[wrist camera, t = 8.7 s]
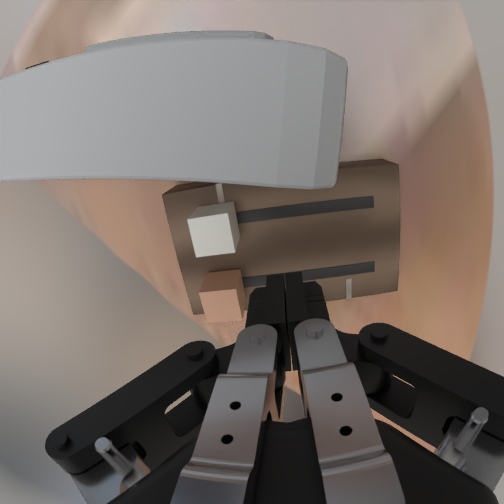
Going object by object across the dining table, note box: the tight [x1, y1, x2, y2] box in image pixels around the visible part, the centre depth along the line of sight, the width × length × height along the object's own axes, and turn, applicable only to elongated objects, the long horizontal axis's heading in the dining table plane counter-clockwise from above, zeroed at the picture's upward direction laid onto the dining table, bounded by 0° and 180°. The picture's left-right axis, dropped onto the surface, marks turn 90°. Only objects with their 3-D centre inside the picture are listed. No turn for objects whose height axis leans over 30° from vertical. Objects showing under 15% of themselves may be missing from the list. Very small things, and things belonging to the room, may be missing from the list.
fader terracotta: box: [199, 269, 246, 323], centre depth 26 cm, size 3×3×4 cm
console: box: [162, 159, 400, 315], centre depth 28 cm, size 12×20×4 cm, turn 99°
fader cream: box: [187, 201, 240, 257], centre depth 24 cm, size 3×3×4 cm
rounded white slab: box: [0, 31, 348, 189], centre depth 17 cm, size 29×8×18 cm, turn 86°
